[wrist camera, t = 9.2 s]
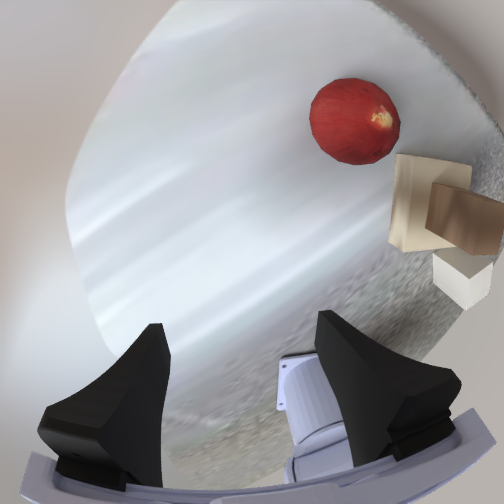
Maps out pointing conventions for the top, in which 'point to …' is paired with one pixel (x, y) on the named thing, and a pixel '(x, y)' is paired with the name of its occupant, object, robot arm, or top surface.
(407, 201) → the beech slab
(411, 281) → the top surface
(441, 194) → the walnut block
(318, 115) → the onion
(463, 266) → the offwhite block
